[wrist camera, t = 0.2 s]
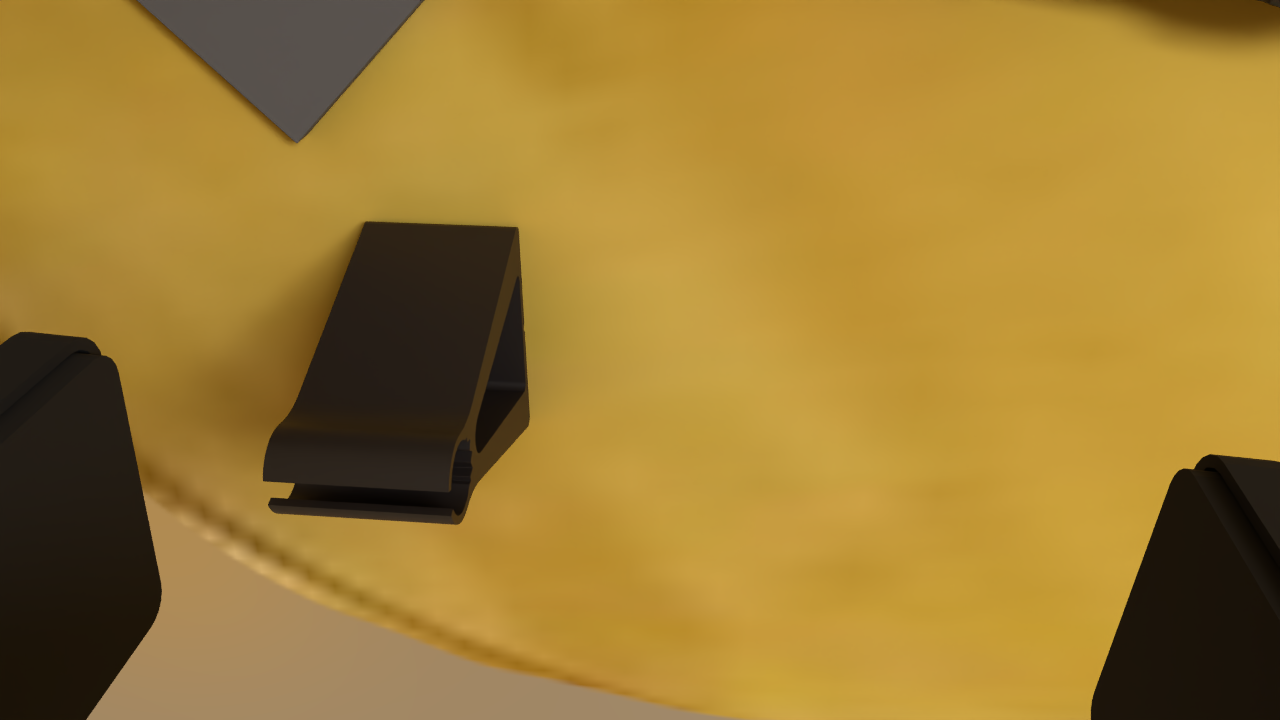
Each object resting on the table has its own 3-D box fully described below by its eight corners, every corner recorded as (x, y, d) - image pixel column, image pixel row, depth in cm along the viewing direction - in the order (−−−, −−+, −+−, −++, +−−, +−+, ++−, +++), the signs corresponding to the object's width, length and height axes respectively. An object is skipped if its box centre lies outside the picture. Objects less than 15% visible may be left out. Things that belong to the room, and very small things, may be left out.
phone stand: (368, 217, 43) (239, 368, 32) (519, 224, 42) (438, 379, 32) (392, 413, 47) (286, 601, 37) (530, 421, 47) (461, 615, 36)
